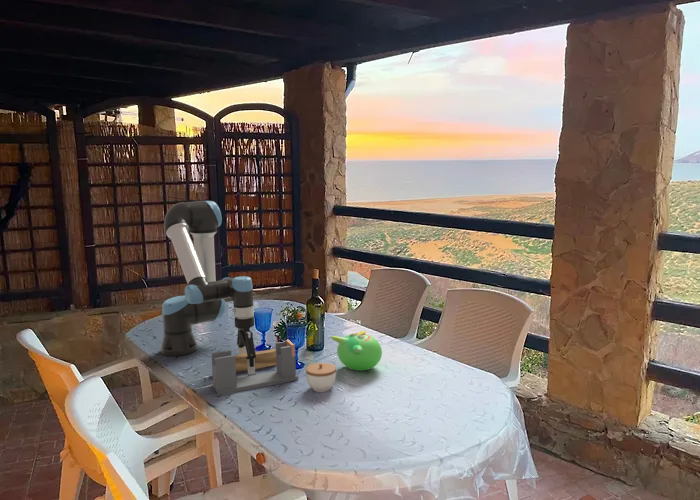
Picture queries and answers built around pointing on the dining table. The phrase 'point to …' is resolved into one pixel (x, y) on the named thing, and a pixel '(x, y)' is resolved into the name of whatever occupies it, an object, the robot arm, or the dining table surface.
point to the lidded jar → (321, 376)
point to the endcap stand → (229, 383)
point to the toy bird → (358, 351)
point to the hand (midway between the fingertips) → (247, 368)
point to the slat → (256, 360)
